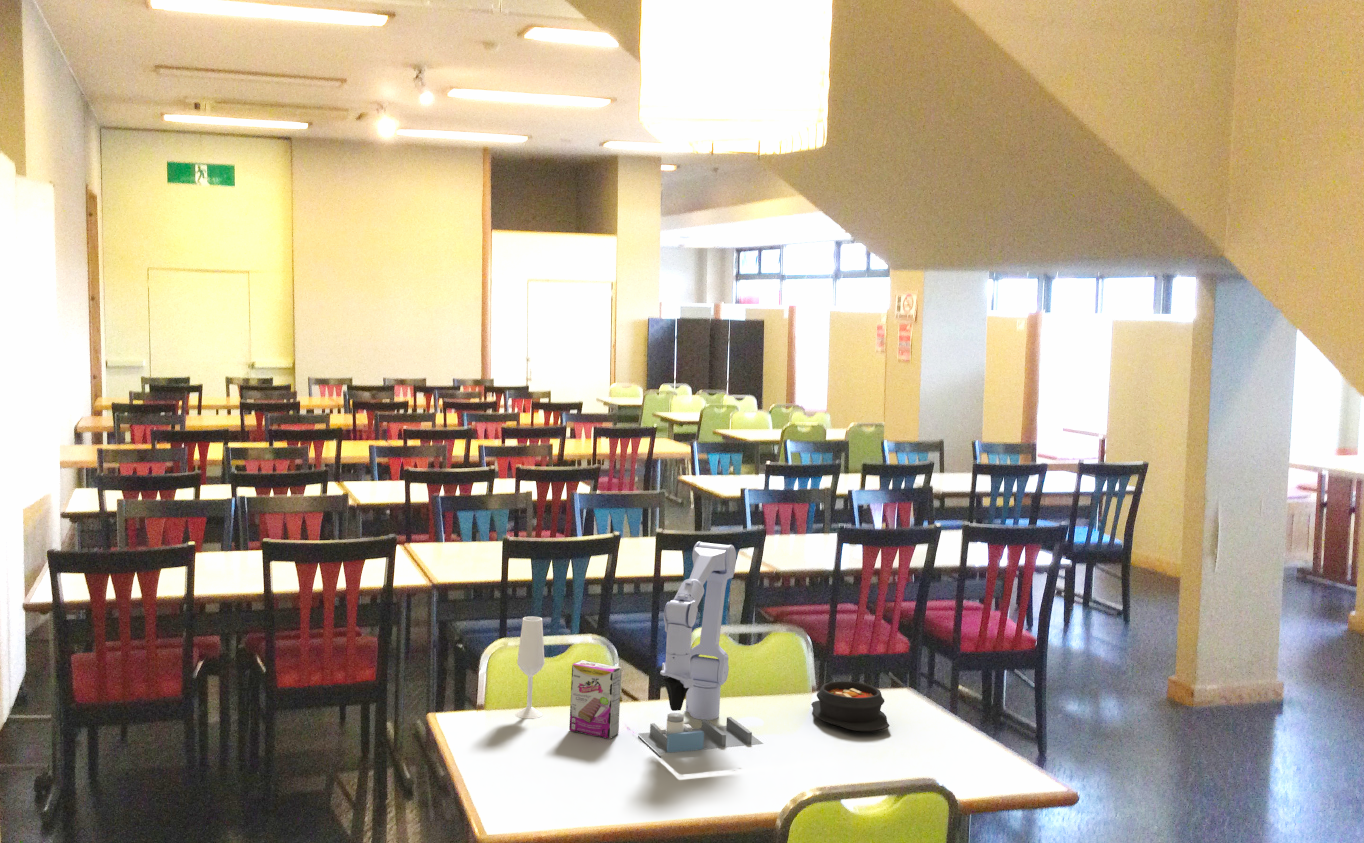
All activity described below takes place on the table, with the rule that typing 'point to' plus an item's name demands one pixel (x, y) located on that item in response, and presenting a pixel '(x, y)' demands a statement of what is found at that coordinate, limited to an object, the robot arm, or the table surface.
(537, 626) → the champagne flute
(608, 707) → the candy bar box
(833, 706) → the casserole
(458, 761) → the table surface
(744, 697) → the table surface
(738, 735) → the grey slotted rack
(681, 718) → the cream rounded cylinder
